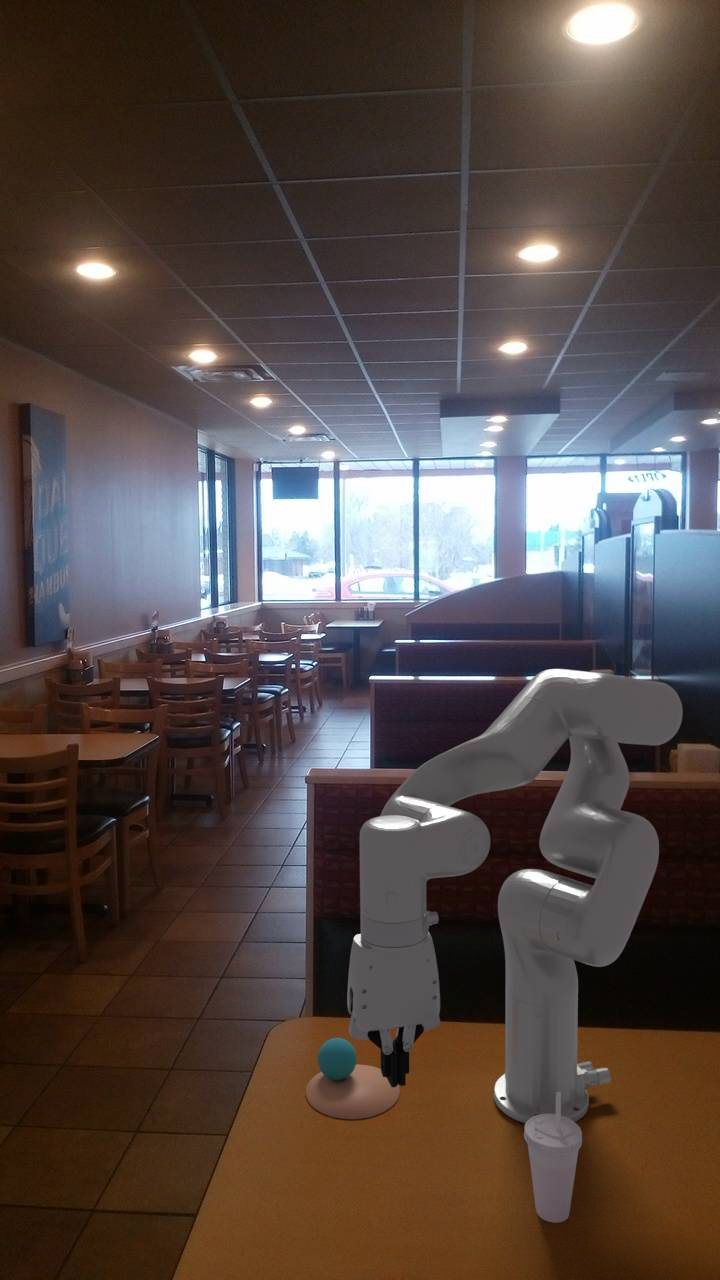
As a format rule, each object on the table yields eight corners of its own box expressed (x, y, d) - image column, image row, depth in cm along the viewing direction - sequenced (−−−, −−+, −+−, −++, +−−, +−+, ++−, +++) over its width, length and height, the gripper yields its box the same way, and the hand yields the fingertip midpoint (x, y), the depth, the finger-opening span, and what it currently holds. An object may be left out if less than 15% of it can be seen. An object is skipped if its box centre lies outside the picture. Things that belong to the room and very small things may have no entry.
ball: (358, 1034, 132) (364, 1076, 130) (347, 1036, 137) (352, 1077, 135) (321, 1039, 131) (326, 1082, 128) (311, 1041, 135) (315, 1083, 133)
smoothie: (582, 1235, 102) (583, 1112, 100) (522, 1227, 103) (523, 1106, 102) (580, 1195, 108) (581, 1079, 107) (524, 1188, 109) (524, 1074, 108)
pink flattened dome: (385, 1060, 137) (385, 1058, 137) (411, 1110, 125) (411, 1109, 125) (298, 1073, 134) (298, 1071, 134) (316, 1126, 122) (316, 1124, 122)
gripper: (444, 907, 112) (445, 1054, 114) (322, 921, 108) (324, 1072, 110) (467, 932, 105) (467, 1088, 106) (336, 947, 101) (339, 1109, 103)
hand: (395, 1079), depth 108 cm, fingers closed
